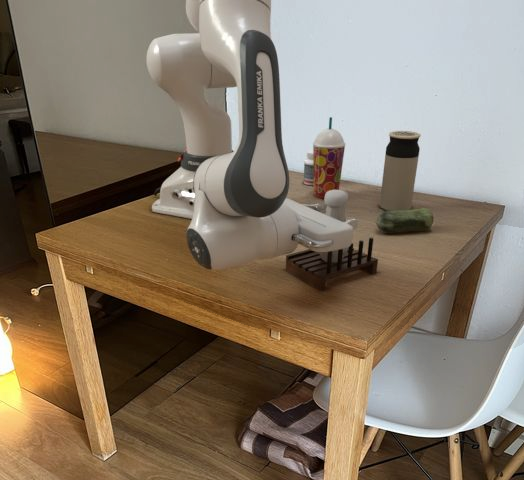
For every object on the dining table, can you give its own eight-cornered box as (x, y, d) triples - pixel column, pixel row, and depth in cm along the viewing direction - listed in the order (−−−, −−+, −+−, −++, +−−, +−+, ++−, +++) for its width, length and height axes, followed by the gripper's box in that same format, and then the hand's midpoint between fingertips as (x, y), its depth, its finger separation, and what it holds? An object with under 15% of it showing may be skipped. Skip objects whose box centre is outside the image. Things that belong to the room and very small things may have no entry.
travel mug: (405, 214, 136) (416, 138, 126) (375, 209, 139) (383, 134, 129) (414, 205, 141) (425, 132, 132) (385, 200, 145) (394, 129, 135)
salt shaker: (345, 265, 102) (351, 197, 95) (315, 263, 103) (319, 195, 96) (347, 254, 107) (353, 187, 100) (318, 251, 108) (322, 186, 101)
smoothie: (320, 189, 154) (324, 113, 143) (346, 194, 150) (353, 116, 139) (304, 196, 148) (308, 118, 137) (331, 202, 144) (337, 121, 133)
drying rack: (285, 270, 107) (286, 234, 103) (339, 254, 114) (342, 220, 110) (320, 290, 100) (323, 253, 96) (376, 273, 106) (381, 236, 102)
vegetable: (425, 225, 129) (428, 204, 126) (435, 232, 125) (439, 211, 122) (369, 229, 127) (372, 208, 124) (378, 237, 122) (380, 215, 120)
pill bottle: (316, 186, 156) (317, 154, 151) (300, 184, 158) (301, 152, 154) (324, 182, 160) (326, 151, 155) (308, 179, 162) (310, 148, 157)
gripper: (315, 230, 86) (379, 214, 92) (245, 197, 100) (305, 185, 106) (313, 267, 89) (375, 249, 95) (246, 230, 103) (303, 217, 110)
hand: (337, 215), depth 101 cm, fingers open, 8 cm apart
